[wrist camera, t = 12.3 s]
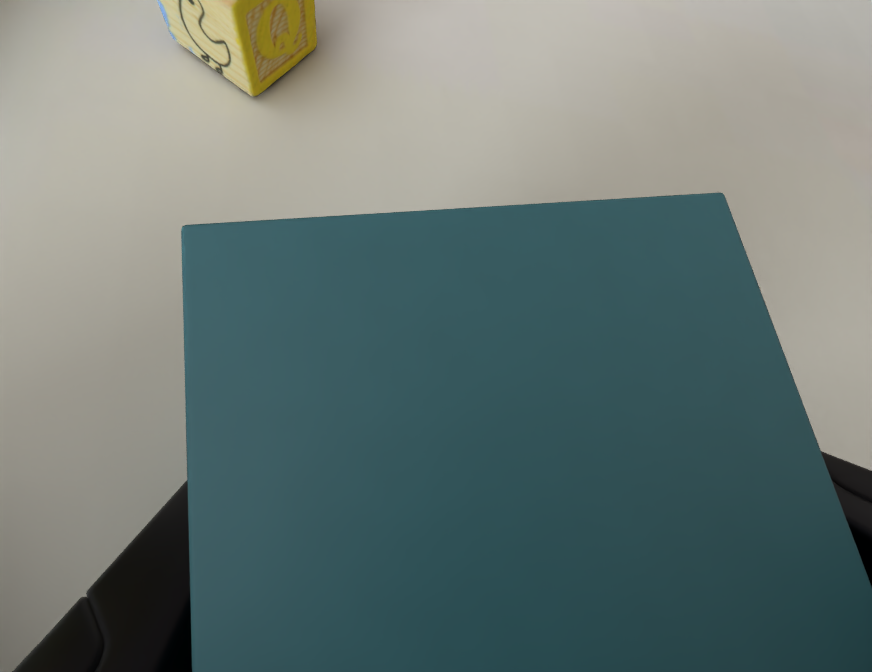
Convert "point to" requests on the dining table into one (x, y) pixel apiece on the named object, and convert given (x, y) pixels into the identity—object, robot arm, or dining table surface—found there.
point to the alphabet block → (244, 36)
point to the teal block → (504, 449)
